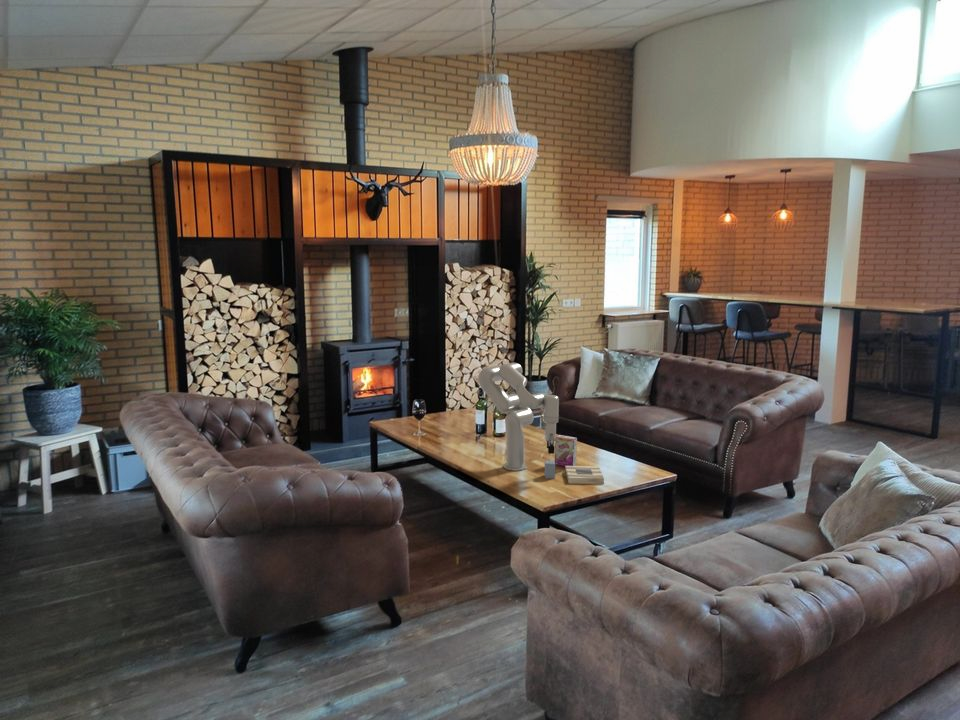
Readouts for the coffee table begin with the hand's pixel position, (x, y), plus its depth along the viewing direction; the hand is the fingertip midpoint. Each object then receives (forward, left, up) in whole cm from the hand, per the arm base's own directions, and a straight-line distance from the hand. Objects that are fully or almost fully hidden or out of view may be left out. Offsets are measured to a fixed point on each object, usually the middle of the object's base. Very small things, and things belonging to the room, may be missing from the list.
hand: (550, 450), depth 373 cm
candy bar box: (-20, +10, -15) cm, 27 cm away
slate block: (0, 0, -14) cm, 14 cm away
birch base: (0, +18, -14) cm, 23 cm away
